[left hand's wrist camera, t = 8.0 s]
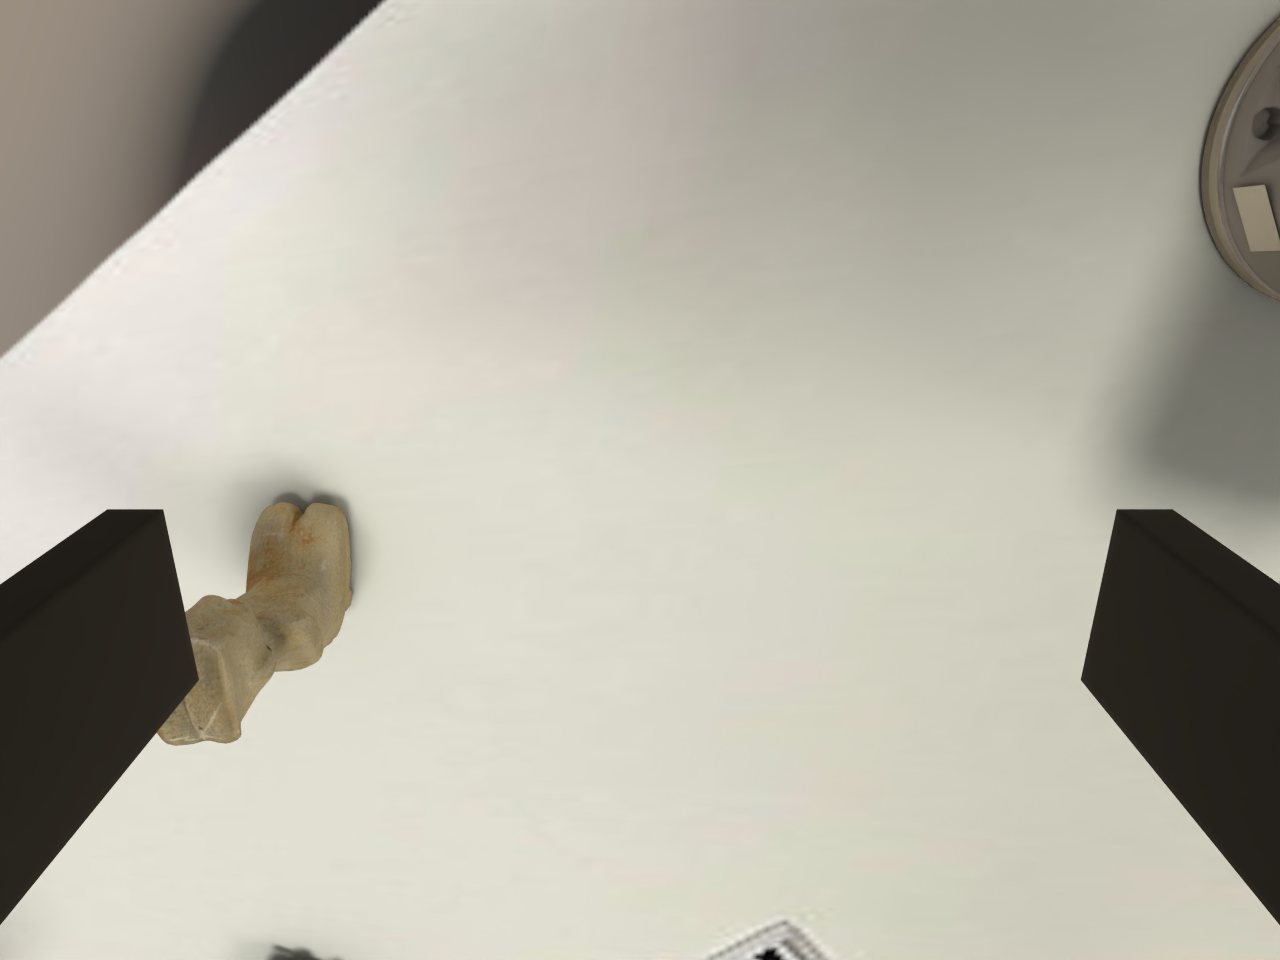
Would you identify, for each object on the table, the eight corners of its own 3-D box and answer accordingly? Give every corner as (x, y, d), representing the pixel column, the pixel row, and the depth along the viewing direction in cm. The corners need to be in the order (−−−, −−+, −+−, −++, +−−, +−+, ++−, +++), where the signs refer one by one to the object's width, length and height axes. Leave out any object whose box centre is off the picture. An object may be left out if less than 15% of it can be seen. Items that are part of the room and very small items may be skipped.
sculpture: (366, 495, 48) (252, 644, 34) (374, 612, 50) (272, 795, 36) (257, 491, 48) (98, 638, 34) (271, 608, 50) (129, 790, 36)
